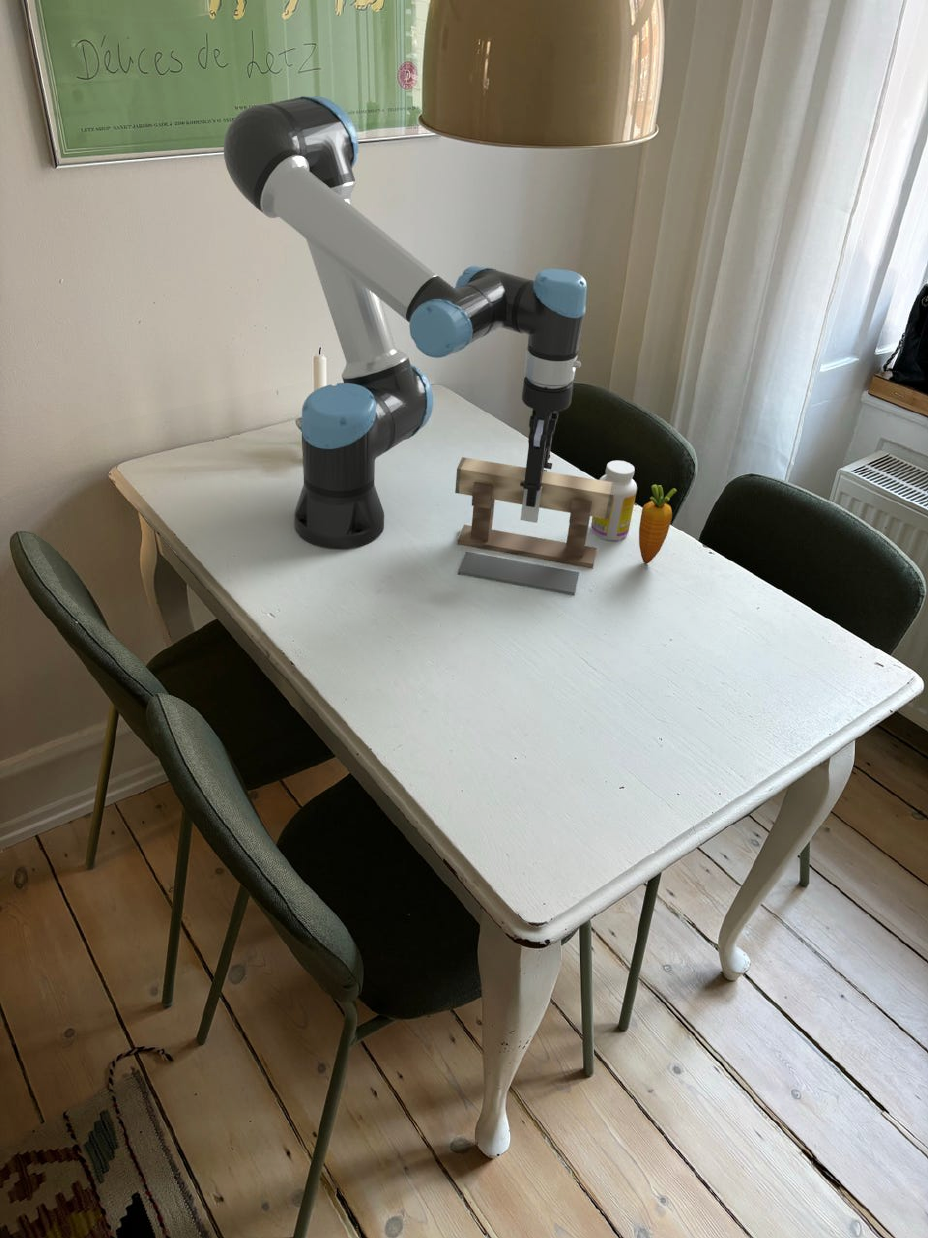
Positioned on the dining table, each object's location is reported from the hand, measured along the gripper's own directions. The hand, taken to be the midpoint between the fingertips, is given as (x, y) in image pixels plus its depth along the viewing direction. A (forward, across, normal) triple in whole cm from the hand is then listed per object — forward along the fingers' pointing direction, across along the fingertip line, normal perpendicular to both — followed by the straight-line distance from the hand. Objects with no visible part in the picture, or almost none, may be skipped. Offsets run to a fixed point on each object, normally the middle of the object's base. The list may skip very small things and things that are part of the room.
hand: (531, 512), depth 160 cm
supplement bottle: (+7, +10, -13) cm, 18 cm away
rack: (+7, 0, 0) cm, 7 cm away
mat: (+7, -8, 0) cm, 11 cm away
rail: (-2, 0, 0) cm, 2 cm away
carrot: (+7, +2, -20) cm, 21 cm away
